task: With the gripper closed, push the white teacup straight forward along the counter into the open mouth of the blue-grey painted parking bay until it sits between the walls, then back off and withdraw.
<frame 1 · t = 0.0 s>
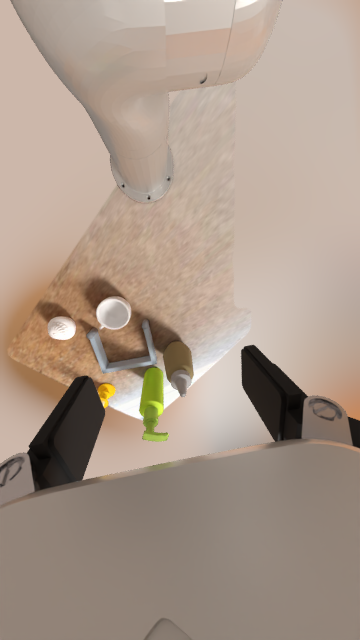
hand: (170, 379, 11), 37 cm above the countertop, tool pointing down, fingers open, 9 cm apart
squeeze bottle: (176, 349, 53), on the countertop
muffin: (69, 322, 46), on the countertop
soap dispenser: (155, 375, 55), on the countertop
candle: (107, 389, 55), on the countertop
bay: (125, 343, 50), on the countertop
teacup: (116, 310, 47), on the countertop
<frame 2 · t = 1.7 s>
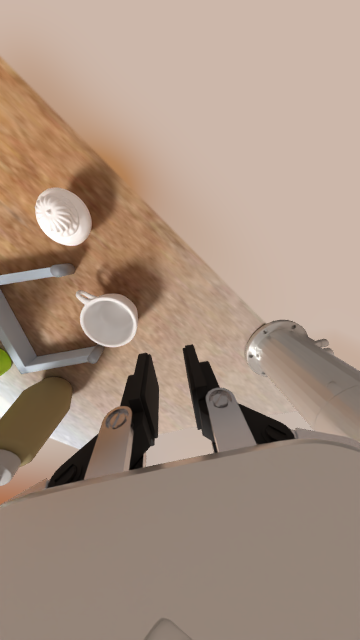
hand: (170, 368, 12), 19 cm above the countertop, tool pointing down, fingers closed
squeeze bottle: (57, 387, 34), on the countertop
muffin: (78, 223, 25), on the countertop
bay: (52, 317, 29), on the countertop
teacup: (113, 307, 30), on the countertop
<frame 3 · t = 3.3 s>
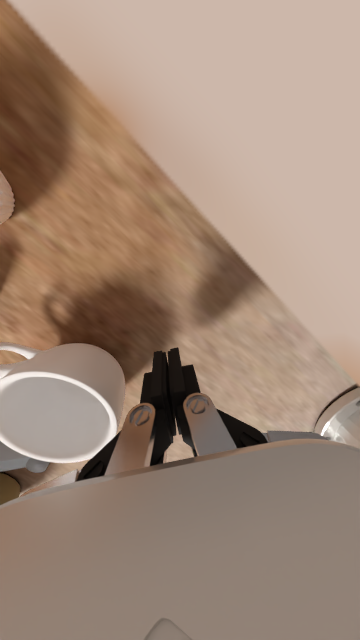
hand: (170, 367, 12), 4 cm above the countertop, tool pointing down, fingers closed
teacup: (80, 361, 16), on the countertop
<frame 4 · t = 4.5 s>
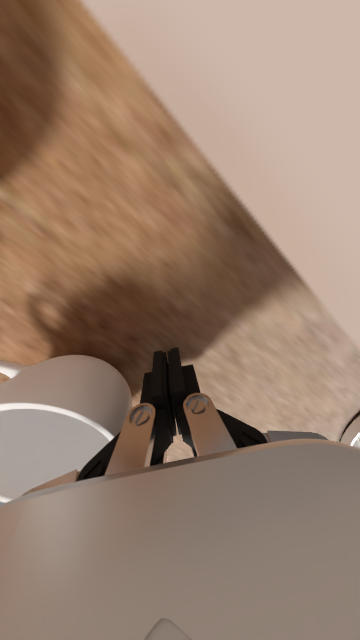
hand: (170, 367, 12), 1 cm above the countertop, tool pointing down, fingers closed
teacup: (76, 374, 13), on the countertop, touching gripper
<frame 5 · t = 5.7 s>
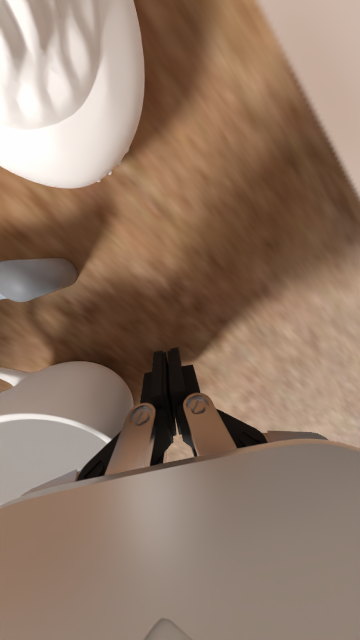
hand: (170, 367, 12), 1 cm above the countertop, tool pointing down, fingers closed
muffin: (85, 135, 8), on the countertop
bay: (25, 385, 13), on the countertop
teacup: (78, 380, 13), on the countertop, touching gripper
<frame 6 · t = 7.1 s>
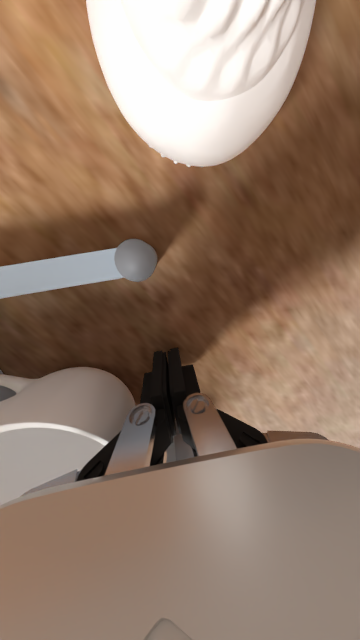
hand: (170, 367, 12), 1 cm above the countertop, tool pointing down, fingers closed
muffin: (185, 119, 8), on the countertop
bay: (90, 373, 13), on the countertop
teacup: (80, 385, 13), on the countertop, touching gripper
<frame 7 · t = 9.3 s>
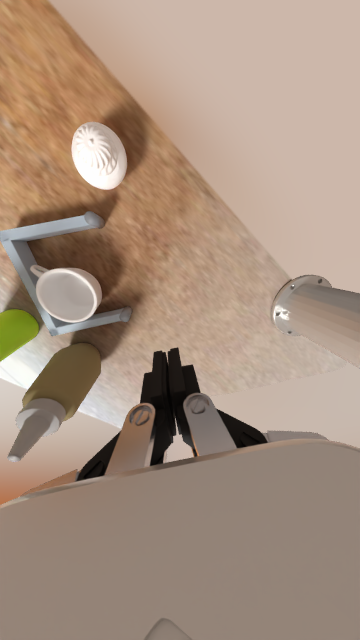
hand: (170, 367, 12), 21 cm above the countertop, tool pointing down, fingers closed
squeeze bottle: (85, 355, 34), on the countertop
muffin: (108, 171, 24), on the countertop
soap dispenser: (20, 327, 30), on the countertop
bay: (81, 277, 28), on the countertop
teacup: (76, 285, 29), on the countertop
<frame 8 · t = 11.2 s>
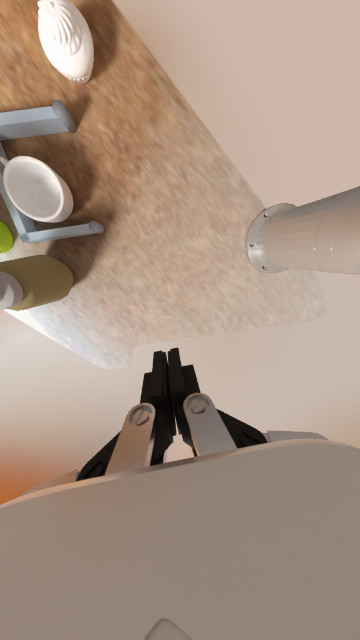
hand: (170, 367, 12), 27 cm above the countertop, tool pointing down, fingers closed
squeeze bottle: (59, 276, 34), on the countertop
muffin: (80, 69, 25), on the countertop
bay: (54, 186, 29), on the countertop
teacup: (50, 195, 30), on the countertop
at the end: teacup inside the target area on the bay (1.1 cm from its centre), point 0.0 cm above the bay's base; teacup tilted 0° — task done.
